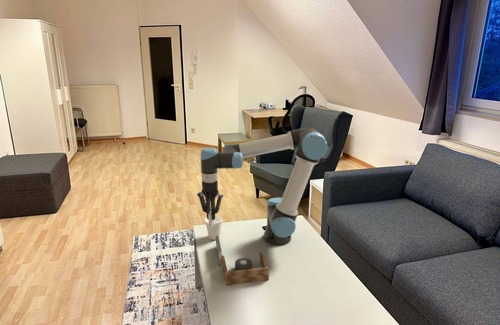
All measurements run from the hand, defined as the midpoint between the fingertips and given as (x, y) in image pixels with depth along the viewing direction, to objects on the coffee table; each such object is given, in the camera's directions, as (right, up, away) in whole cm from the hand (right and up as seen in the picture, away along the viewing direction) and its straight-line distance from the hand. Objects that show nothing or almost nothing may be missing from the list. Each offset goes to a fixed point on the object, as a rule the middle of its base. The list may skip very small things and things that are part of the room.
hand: (211, 225), depth 171 cm
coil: (+16, -19, -8) cm, 26 cm away
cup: (-1, -11, +21) cm, 24 cm away
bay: (+17, -20, -11) cm, 28 cm away
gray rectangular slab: (+4, -16, +3) cm, 16 cm away
